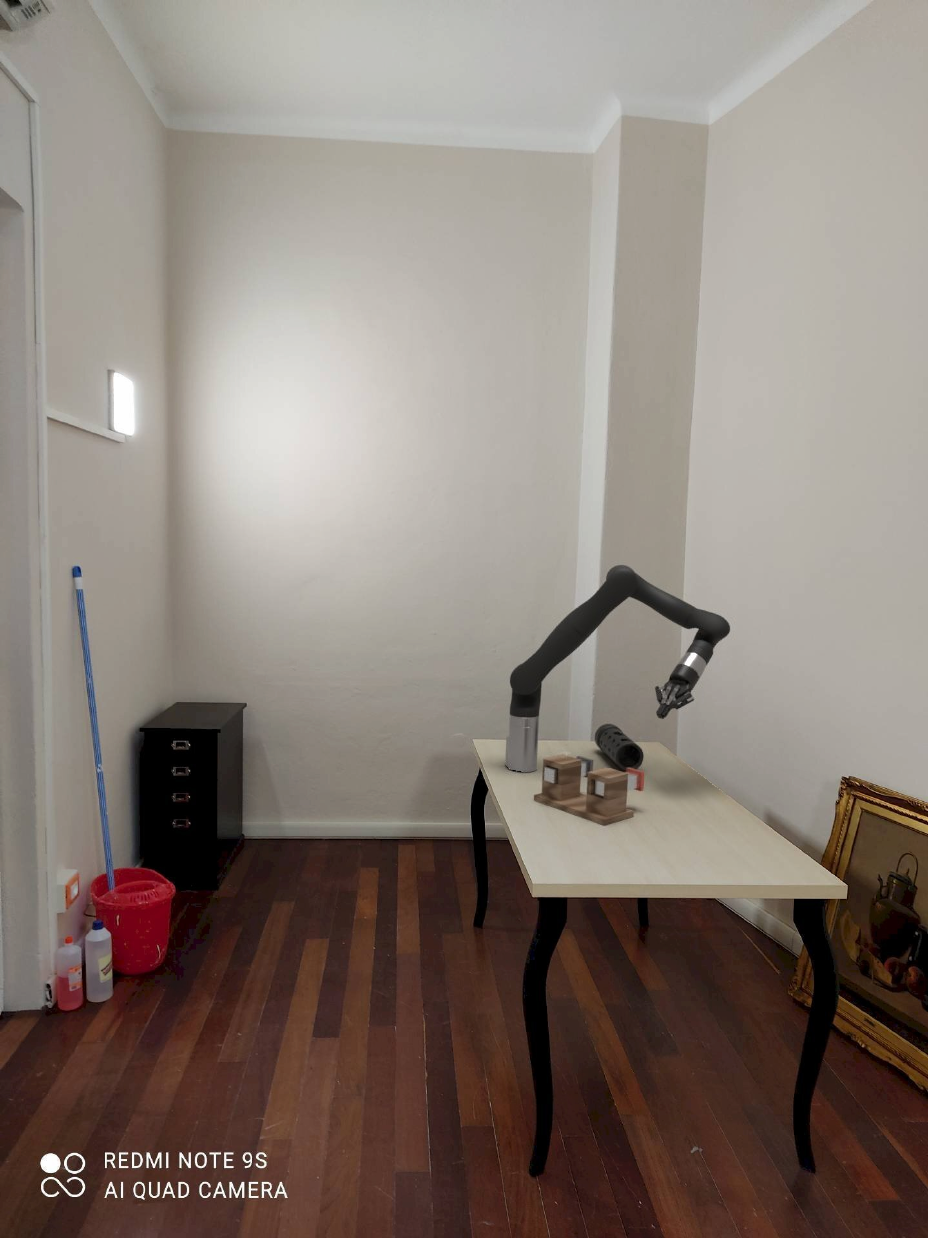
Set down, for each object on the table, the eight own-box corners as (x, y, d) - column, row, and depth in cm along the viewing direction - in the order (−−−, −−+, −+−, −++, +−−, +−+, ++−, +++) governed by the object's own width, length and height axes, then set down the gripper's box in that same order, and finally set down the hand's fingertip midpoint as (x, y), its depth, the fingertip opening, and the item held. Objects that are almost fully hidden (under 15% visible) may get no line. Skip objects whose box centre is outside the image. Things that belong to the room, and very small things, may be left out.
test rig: (533, 800, 234) (535, 758, 233) (562, 792, 242) (564, 752, 241) (604, 825, 216) (606, 780, 215) (633, 816, 224) (636, 773, 222)
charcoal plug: (541, 782, 233) (542, 763, 232) (578, 773, 243) (579, 755, 242) (555, 787, 229) (556, 768, 229) (592, 777, 239) (593, 759, 239)
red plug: (592, 795, 222) (593, 776, 222) (628, 786, 233) (629, 767, 232) (607, 800, 219) (608, 781, 218) (643, 790, 229) (644, 771, 228)
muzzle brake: (613, 774, 264) (615, 742, 263) (592, 751, 291) (593, 721, 290) (643, 774, 265) (645, 742, 263) (619, 751, 292) (620, 722, 291)
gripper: (664, 659, 251) (635, 704, 244) (703, 666, 241) (674, 713, 234) (674, 676, 255) (645, 720, 248) (712, 683, 245) (684, 729, 238)
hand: (659, 716), depth 241 cm, fingers closed
